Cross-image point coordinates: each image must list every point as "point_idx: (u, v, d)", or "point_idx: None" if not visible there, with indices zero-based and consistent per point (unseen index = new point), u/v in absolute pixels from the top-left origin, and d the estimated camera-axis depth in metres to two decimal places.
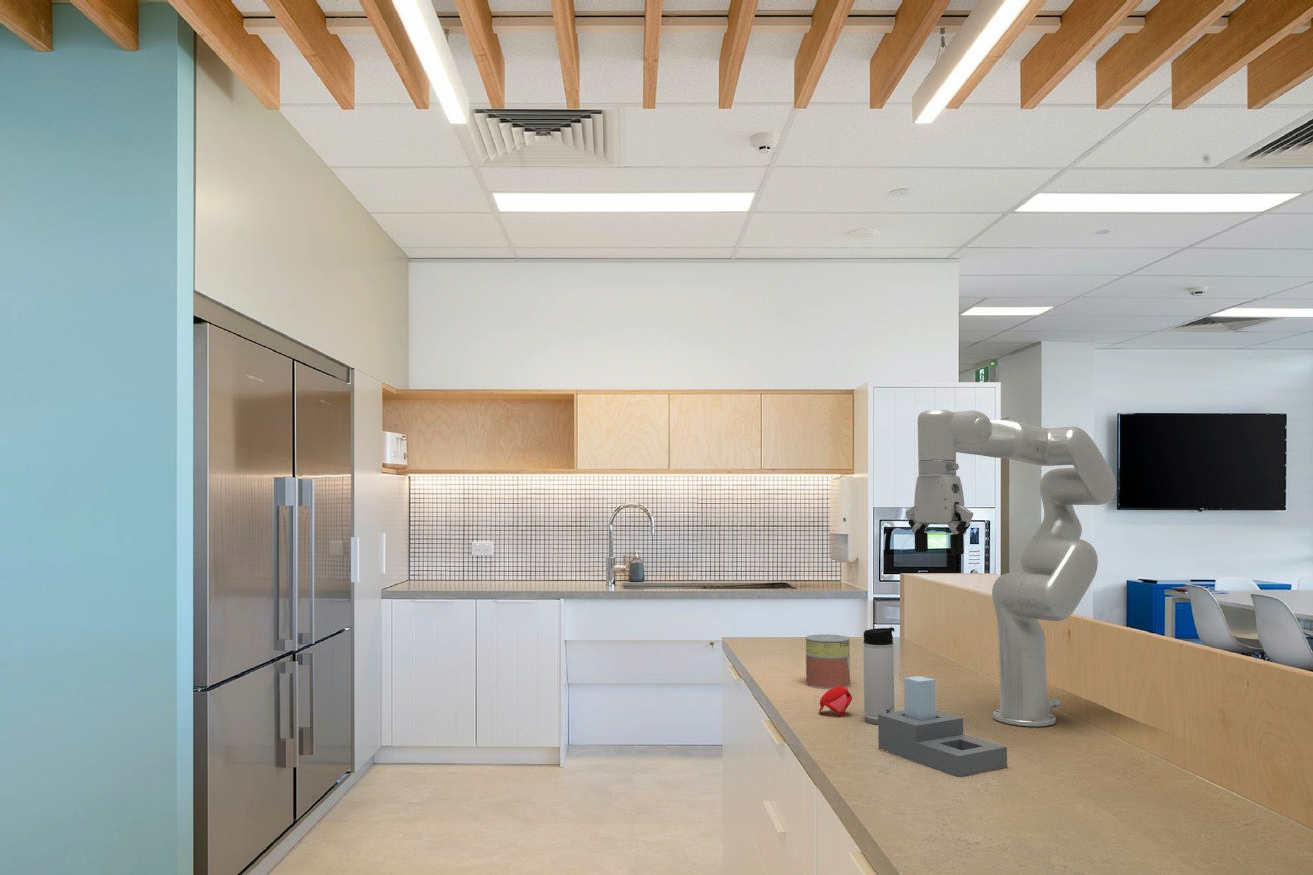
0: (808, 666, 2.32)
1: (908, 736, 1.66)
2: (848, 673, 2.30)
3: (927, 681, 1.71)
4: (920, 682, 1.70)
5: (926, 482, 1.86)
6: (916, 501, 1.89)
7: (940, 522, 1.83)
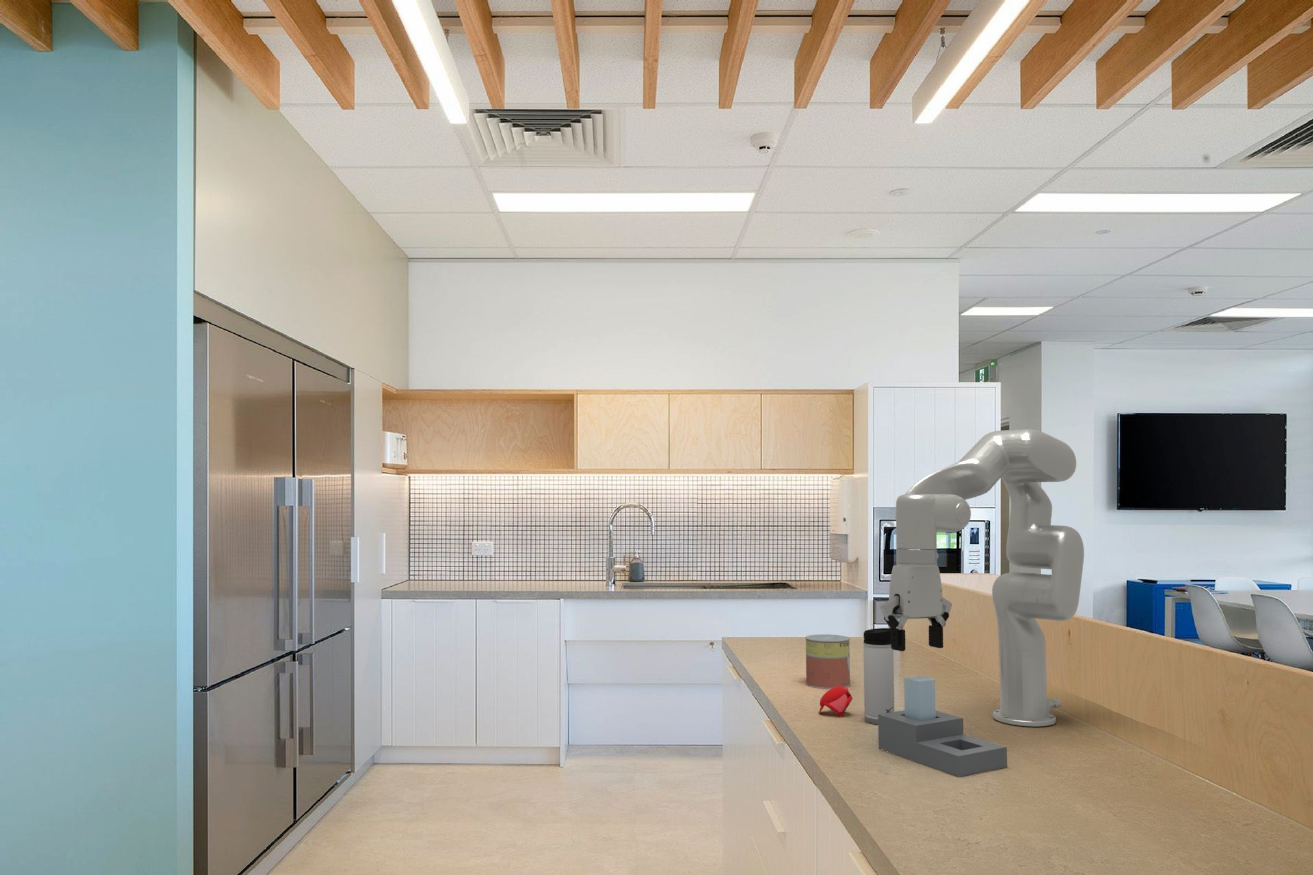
0: (808, 666, 2.32)
1: (908, 736, 1.66)
2: (848, 673, 2.30)
3: (927, 681, 1.71)
4: (920, 682, 1.70)
5: (923, 572, 1.71)
6: (909, 594, 1.70)
7: (933, 615, 1.72)
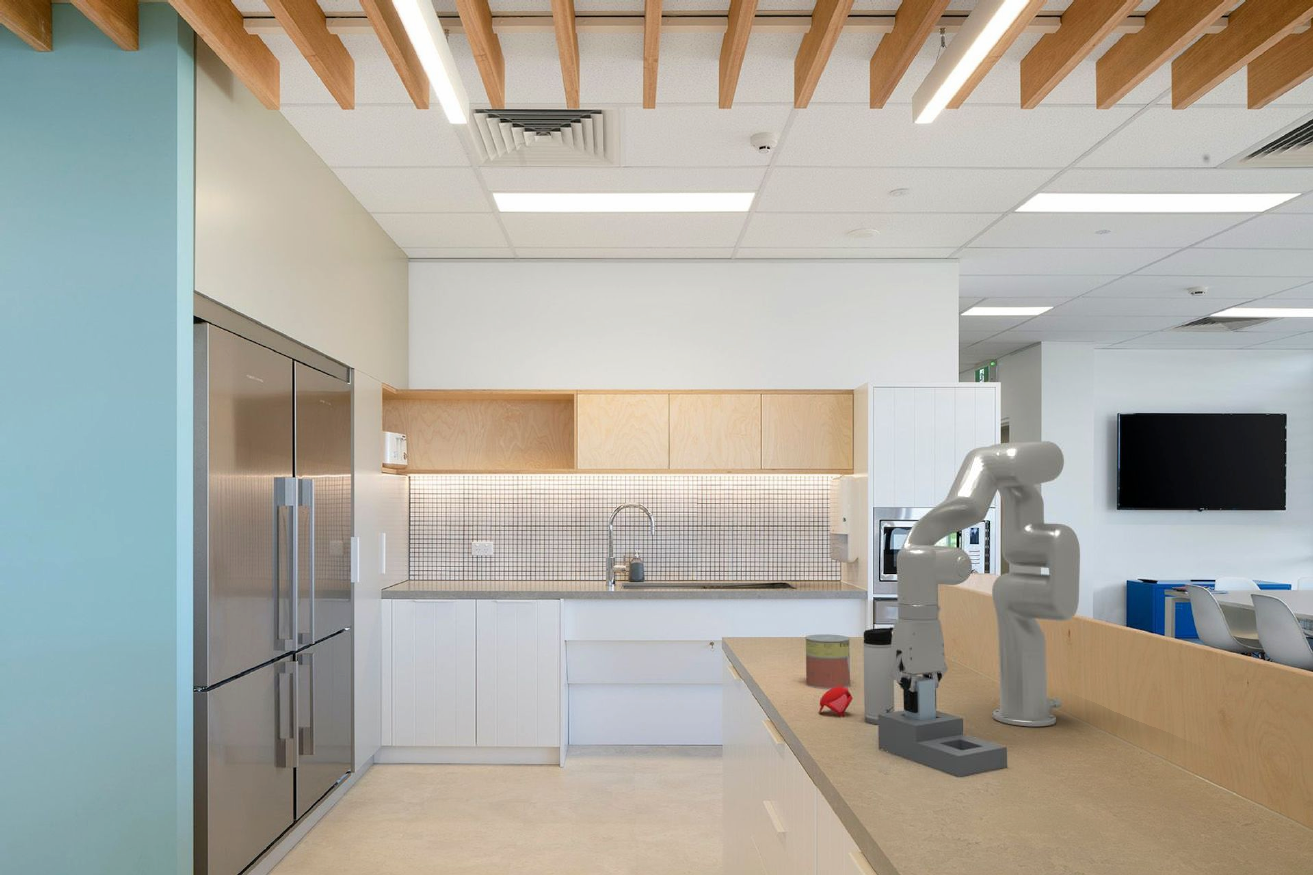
0: (808, 666, 2.32)
1: (908, 736, 1.66)
2: (848, 673, 2.30)
3: (927, 681, 1.71)
4: (920, 682, 1.70)
5: (925, 628, 1.70)
6: (911, 650, 1.69)
7: (936, 670, 1.72)
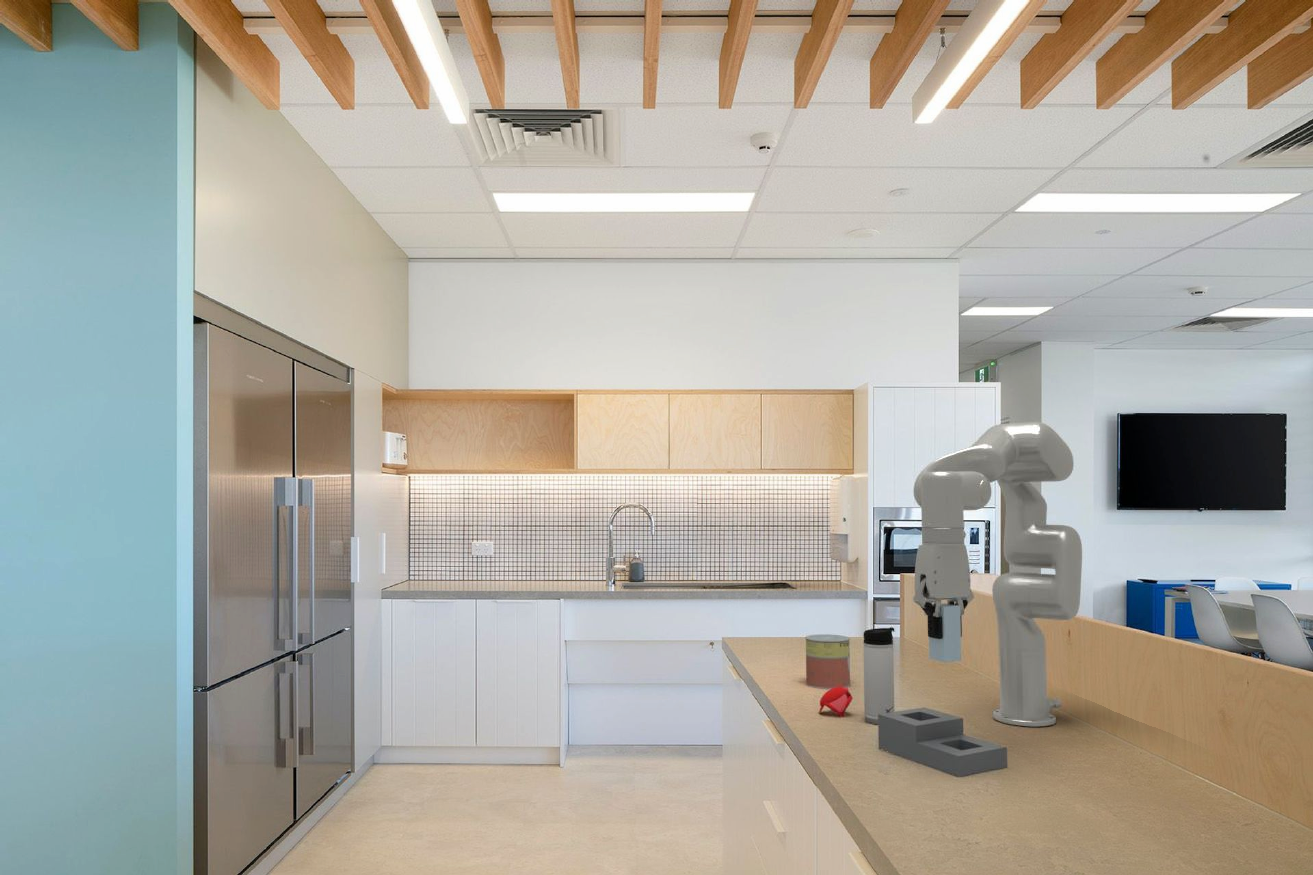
0: (808, 666, 2.32)
1: (908, 736, 1.66)
2: (848, 673, 2.30)
3: (952, 607, 1.66)
4: (945, 607, 1.65)
5: (950, 552, 1.65)
6: (936, 574, 1.64)
7: (961, 596, 1.67)
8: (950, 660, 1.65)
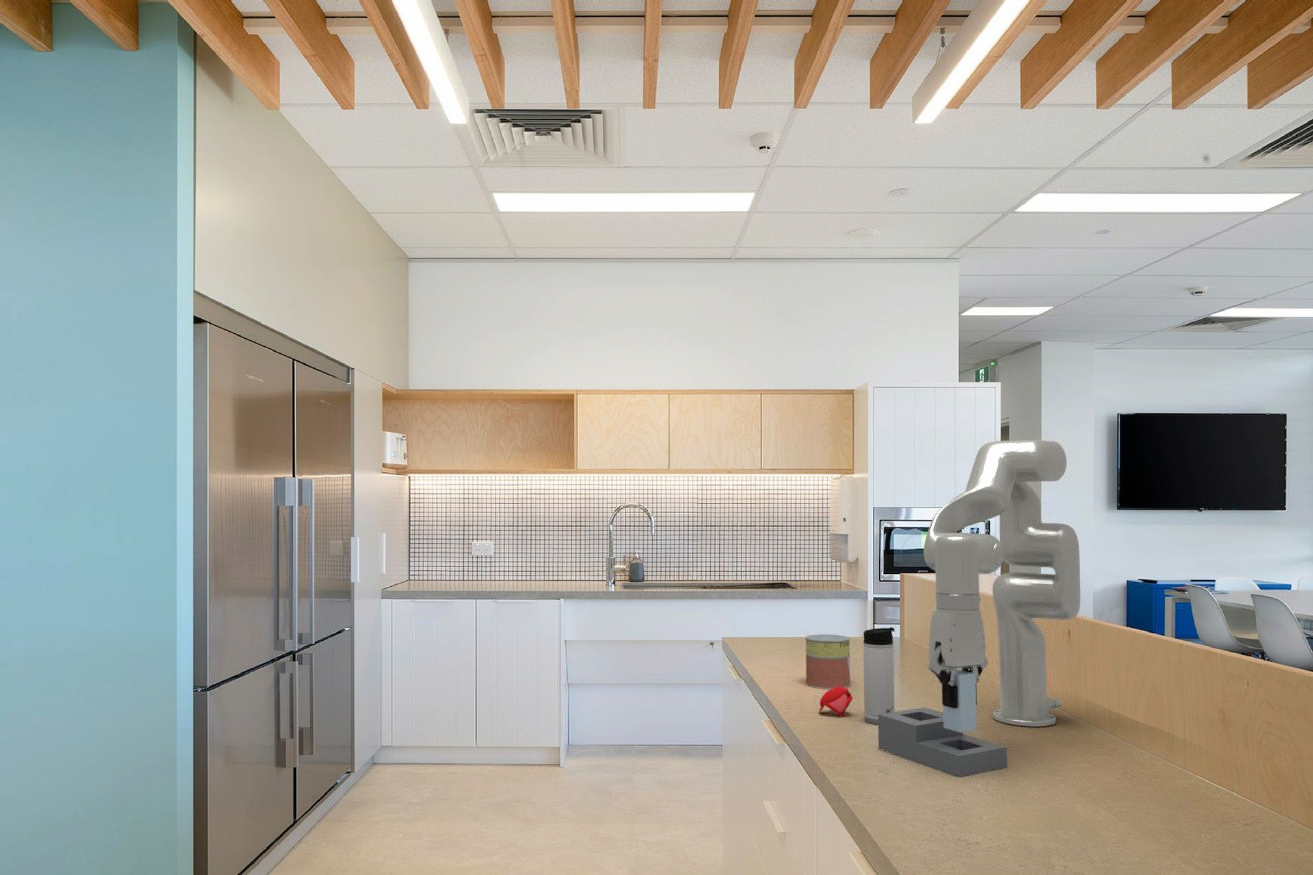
0: (808, 666, 2.32)
1: (908, 736, 1.66)
2: (848, 673, 2.30)
3: (967, 675, 1.62)
4: (960, 676, 1.61)
5: (965, 618, 1.62)
6: (951, 642, 1.60)
7: (976, 663, 1.63)
8: (965, 730, 1.61)
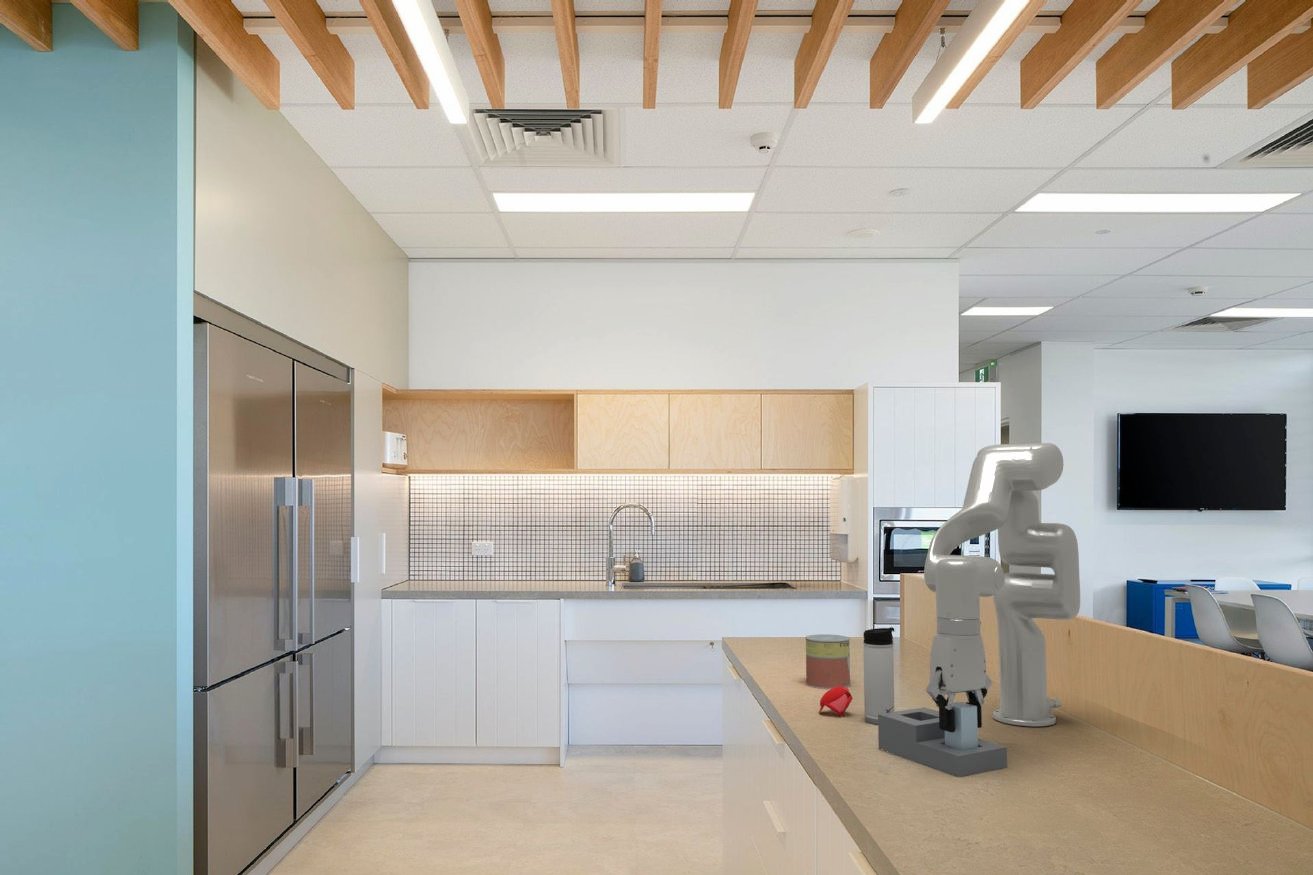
0: (808, 666, 2.32)
1: (908, 736, 1.66)
2: (848, 673, 2.30)
3: (969, 708, 1.62)
4: (962, 709, 1.61)
5: (966, 643, 1.62)
6: (952, 667, 1.60)
7: (977, 688, 1.63)
8: None
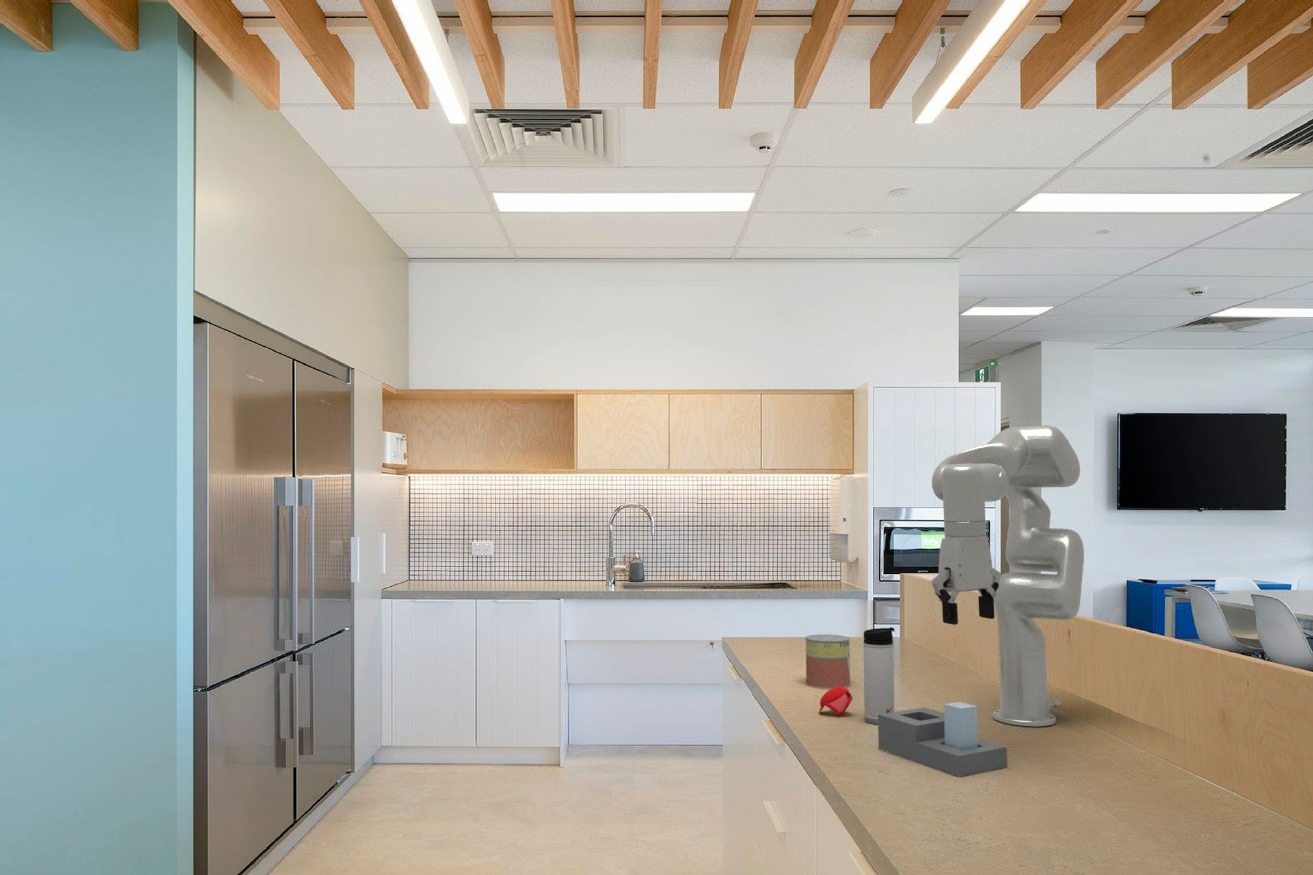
0: (808, 666, 2.32)
1: (908, 736, 1.66)
2: (848, 673, 2.30)
3: (969, 708, 1.62)
4: (962, 709, 1.61)
5: (973, 544, 1.69)
6: (960, 567, 1.68)
7: (984, 587, 1.71)
8: None
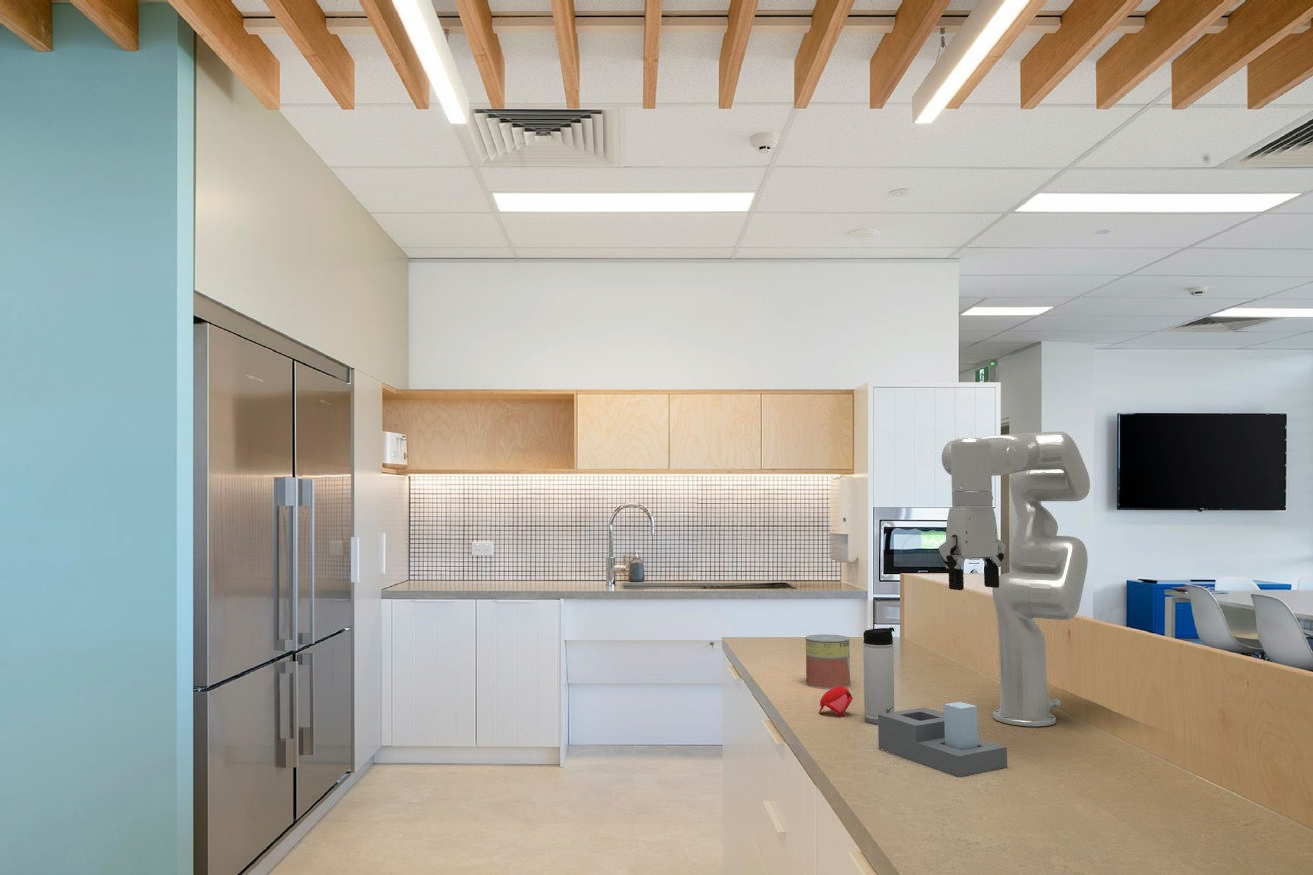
0: (808, 666, 2.32)
1: (908, 736, 1.66)
2: (848, 673, 2.30)
3: (969, 708, 1.62)
4: (962, 709, 1.61)
5: (979, 513, 1.75)
6: (967, 534, 1.73)
7: (990, 556, 1.76)
8: None
